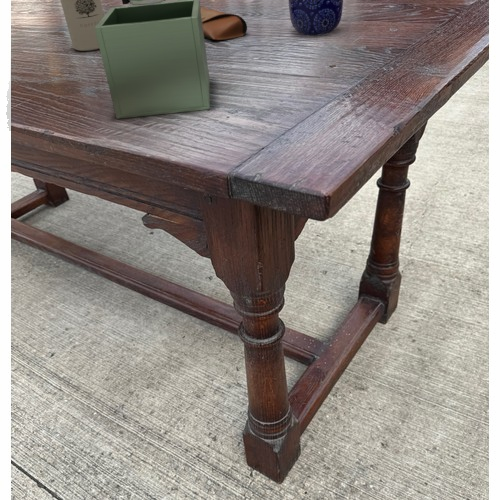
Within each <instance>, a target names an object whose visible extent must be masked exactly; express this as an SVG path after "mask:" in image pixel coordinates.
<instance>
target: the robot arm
mask: <svg viewBox="0 0 500 500" xmlns="http://www.w3.org/2000/svg"><path fill="white" fill-rule="evenodd" d="M121 2H122V5H129V4H130V2H129V0H121Z"/></svg>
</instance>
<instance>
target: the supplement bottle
mask: <svg viewBox="0 0 500 500" xmlns="http://www.w3.org/2000/svg"><path fill="white" fill-rule="evenodd" d="M162 2H166V0H129V4H130V5H131V6H133V5H152V4H157V3H162Z"/></svg>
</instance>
